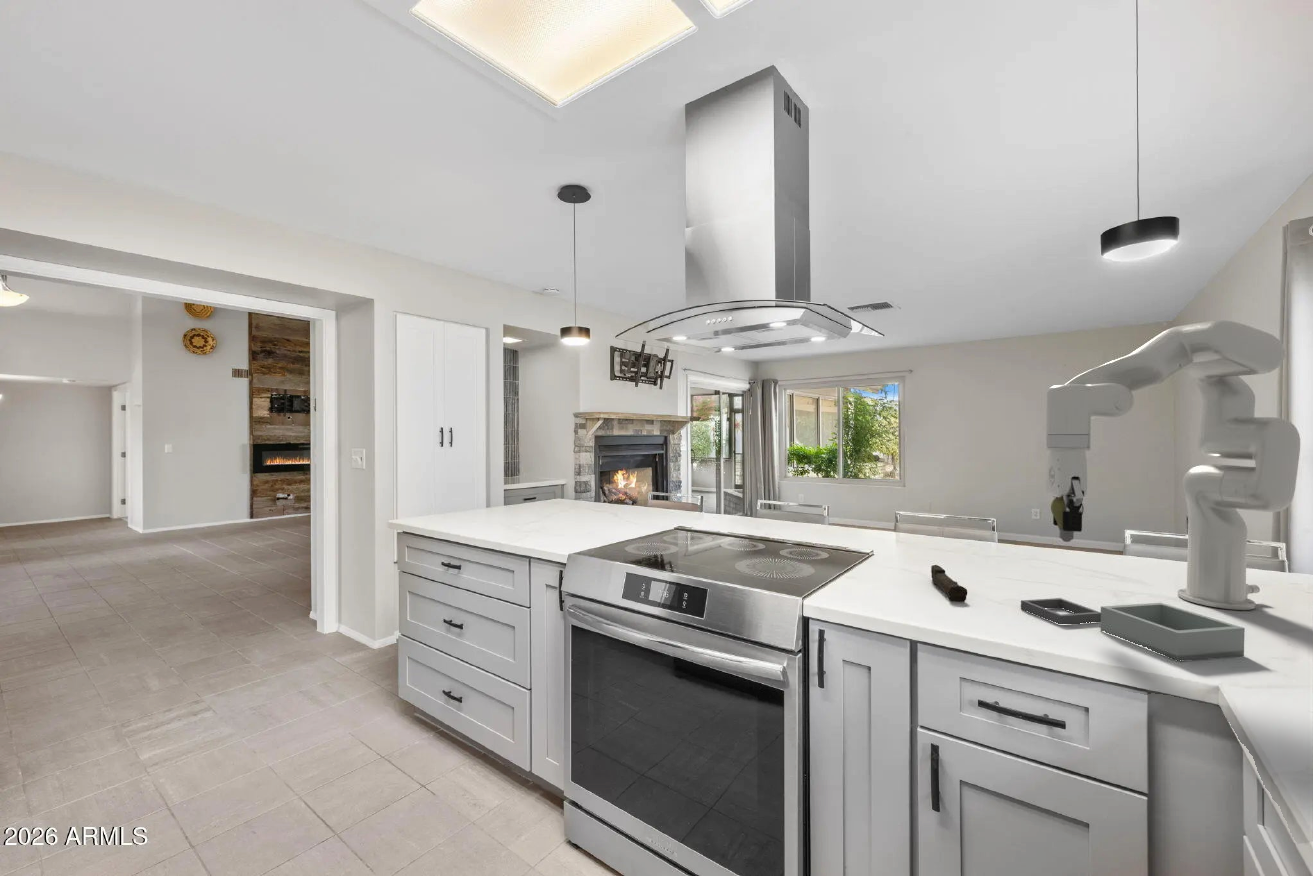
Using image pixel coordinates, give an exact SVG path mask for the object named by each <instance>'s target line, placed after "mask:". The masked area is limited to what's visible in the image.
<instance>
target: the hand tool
mask: <svg viewBox="0 0 1313 876" xmlns="http://www.w3.org/2000/svg"><path fill="white" fill-rule="evenodd" d="M930 568H931V569H930V573H931V575H930V577H931V578H932V579H931V582H932V583H933V585H934V586H938V587H939V589H941V590H942V591H943V592H944V593H945V594H946V595H947V596H948V597H947V598H948V599H949V601H950V602H953V603H964V602H965V601H967V596H968V590H967V588H966V587H964V586H962V585H959V584H958V581H955V580H953V579H952V578H951V577H949V576H948V575H947V574H946V570H945V569H944V568H943V567H941V566H940V565H938V564H934V565H931V567H930Z"/></svg>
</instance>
